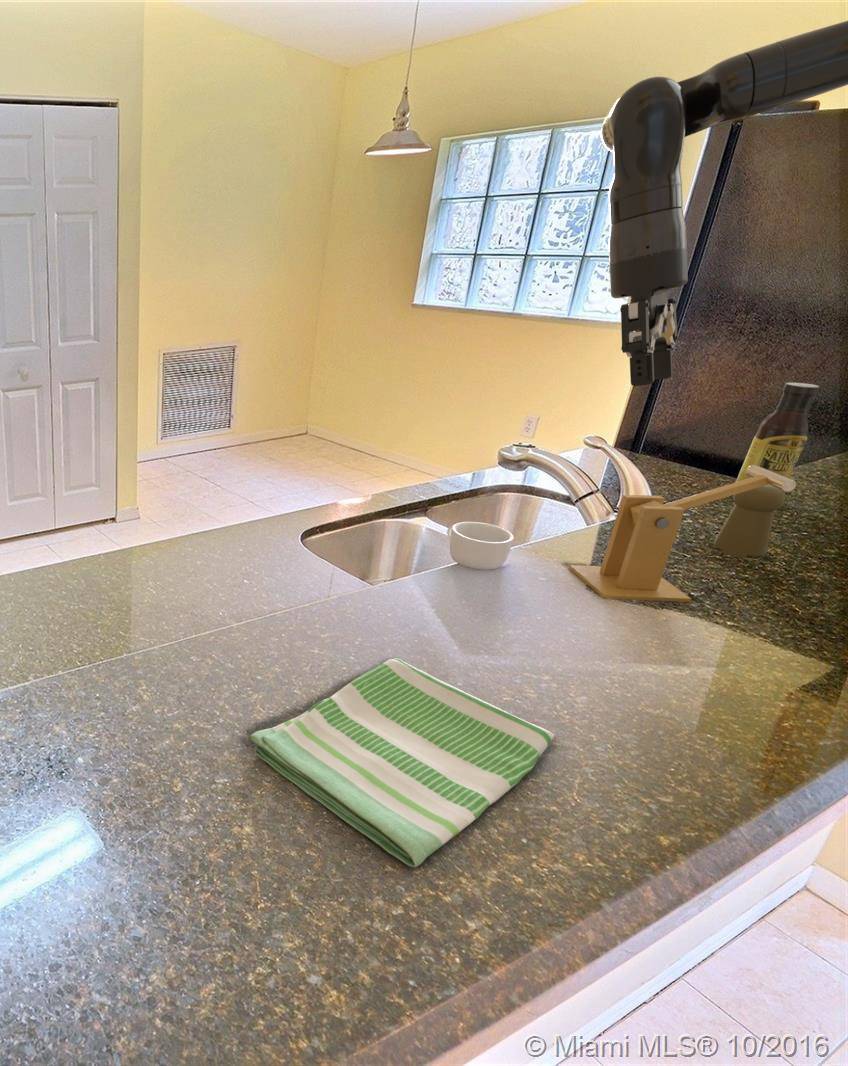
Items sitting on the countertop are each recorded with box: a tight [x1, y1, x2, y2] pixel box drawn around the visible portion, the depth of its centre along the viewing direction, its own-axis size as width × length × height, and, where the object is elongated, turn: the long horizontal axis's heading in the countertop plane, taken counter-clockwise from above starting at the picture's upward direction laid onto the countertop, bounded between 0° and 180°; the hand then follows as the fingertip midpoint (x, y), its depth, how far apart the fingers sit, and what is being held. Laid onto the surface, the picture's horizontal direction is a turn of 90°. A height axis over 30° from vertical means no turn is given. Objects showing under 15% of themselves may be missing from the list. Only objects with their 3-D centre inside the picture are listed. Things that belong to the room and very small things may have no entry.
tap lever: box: [630, 465, 797, 524], centre depth 89 cm, size 15×6×2 cm, turn 80°
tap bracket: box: [568, 494, 692, 603], centre depth 93 cm, size 10×9×13 cm
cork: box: [712, 485, 786, 560], centre depth 101 cm, size 6×6×11 cm
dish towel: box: [249, 657, 555, 868], centre depth 67 cm, size 18×23×3 cm
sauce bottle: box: [735, 382, 820, 485], centre depth 120 cm, size 7×6×20 cm
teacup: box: [446, 521, 515, 571], centre depth 103 cm, size 10×8×5 cm
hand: (652, 381), depth 92 cm, fingers open, 8 cm apart
